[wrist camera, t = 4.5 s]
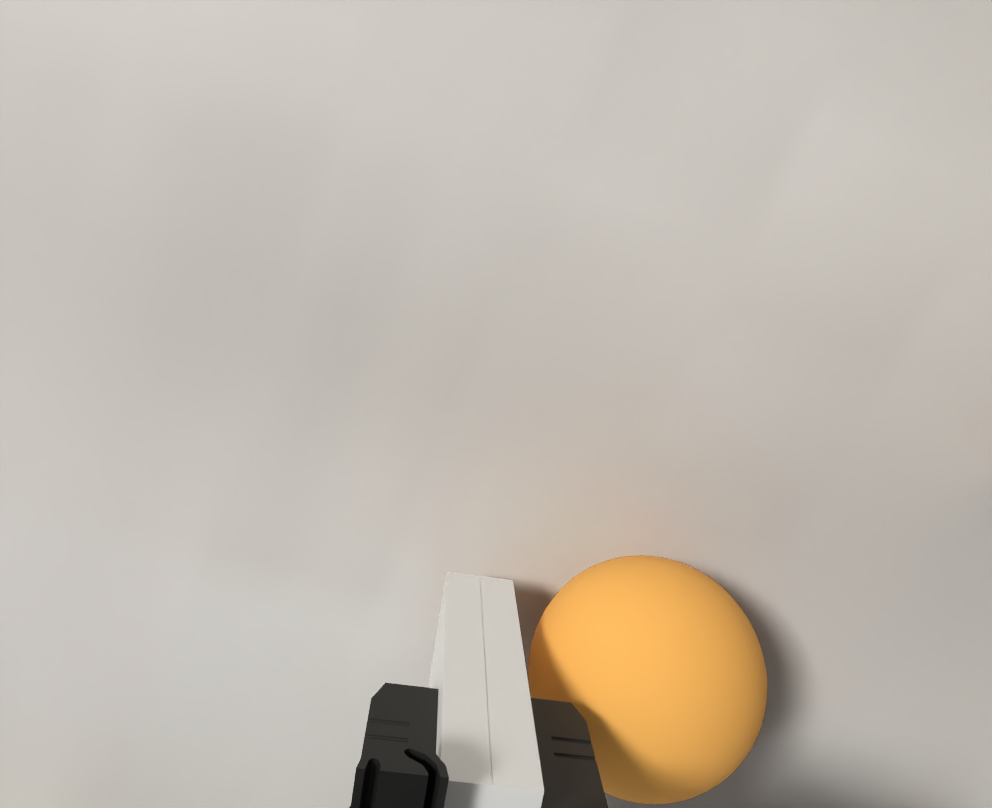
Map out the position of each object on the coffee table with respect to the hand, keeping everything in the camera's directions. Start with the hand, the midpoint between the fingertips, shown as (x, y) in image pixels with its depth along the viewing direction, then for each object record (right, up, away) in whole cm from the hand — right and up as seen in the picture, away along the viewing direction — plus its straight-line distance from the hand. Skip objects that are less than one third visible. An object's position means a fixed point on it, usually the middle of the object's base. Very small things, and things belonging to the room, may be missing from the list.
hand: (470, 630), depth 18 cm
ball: (+4, -1, -1) cm, 4 cm away
